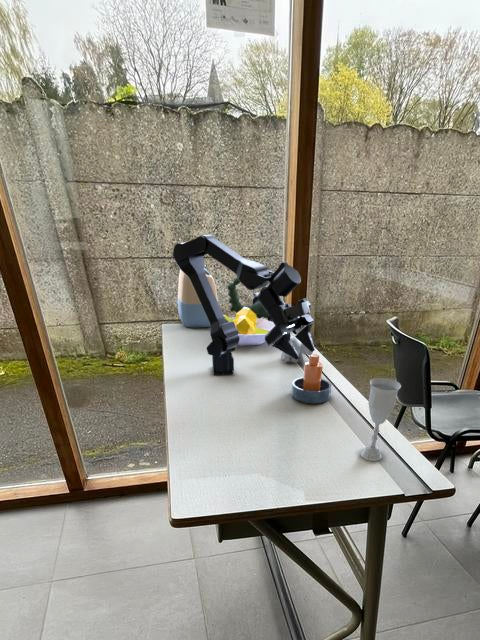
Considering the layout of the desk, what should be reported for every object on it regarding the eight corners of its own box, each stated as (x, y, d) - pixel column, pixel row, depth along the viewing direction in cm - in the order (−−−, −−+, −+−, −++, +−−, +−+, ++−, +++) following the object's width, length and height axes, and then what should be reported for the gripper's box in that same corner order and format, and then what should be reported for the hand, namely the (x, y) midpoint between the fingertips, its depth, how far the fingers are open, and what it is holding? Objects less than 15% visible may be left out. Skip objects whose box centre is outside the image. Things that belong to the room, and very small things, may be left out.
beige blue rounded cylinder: (221, 328, 187) (219, 267, 173) (181, 329, 183) (176, 266, 168) (215, 318, 199) (212, 260, 185) (178, 318, 195) (172, 259, 181)
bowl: (296, 405, 127) (297, 392, 125) (287, 389, 136) (288, 377, 134) (334, 403, 129) (336, 391, 127) (323, 388, 139) (325, 376, 136)
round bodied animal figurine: (314, 364, 156) (317, 340, 151) (281, 364, 155) (283, 339, 150) (311, 357, 162) (313, 334, 157) (279, 357, 160) (280, 333, 155)
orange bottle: (309, 399, 130) (312, 359, 122) (299, 393, 133) (301, 354, 126) (322, 396, 132) (327, 356, 125) (312, 390, 135) (316, 351, 128)
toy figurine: (231, 326, 196) (286, 323, 197) (226, 280, 184) (284, 276, 185) (231, 321, 203) (284, 318, 204) (226, 275, 191) (283, 272, 193)
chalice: (354, 448, 108) (366, 377, 98) (380, 448, 109) (395, 378, 98) (360, 463, 103) (374, 390, 92) (388, 463, 103) (405, 390, 92)
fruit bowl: (290, 340, 179) (292, 310, 172) (251, 355, 160) (251, 323, 153) (236, 326, 190) (236, 298, 183) (194, 340, 171) (192, 309, 164)
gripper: (275, 293, 112) (309, 346, 114) (310, 284, 125) (339, 331, 127) (250, 320, 120) (282, 369, 122) (285, 308, 133) (313, 353, 135)
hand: (305, 354), depth 127 cm, fingers open, 9 cm apart
